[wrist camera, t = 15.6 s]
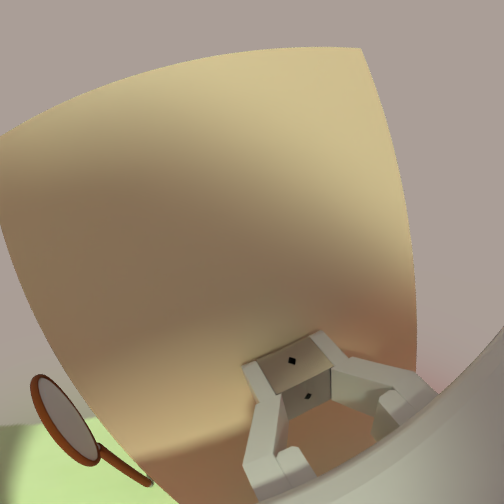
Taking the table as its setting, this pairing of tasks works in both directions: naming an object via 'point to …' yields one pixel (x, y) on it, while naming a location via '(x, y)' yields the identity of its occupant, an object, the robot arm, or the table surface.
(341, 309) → the lid flap
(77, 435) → the magnifying glass
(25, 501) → the table surface
